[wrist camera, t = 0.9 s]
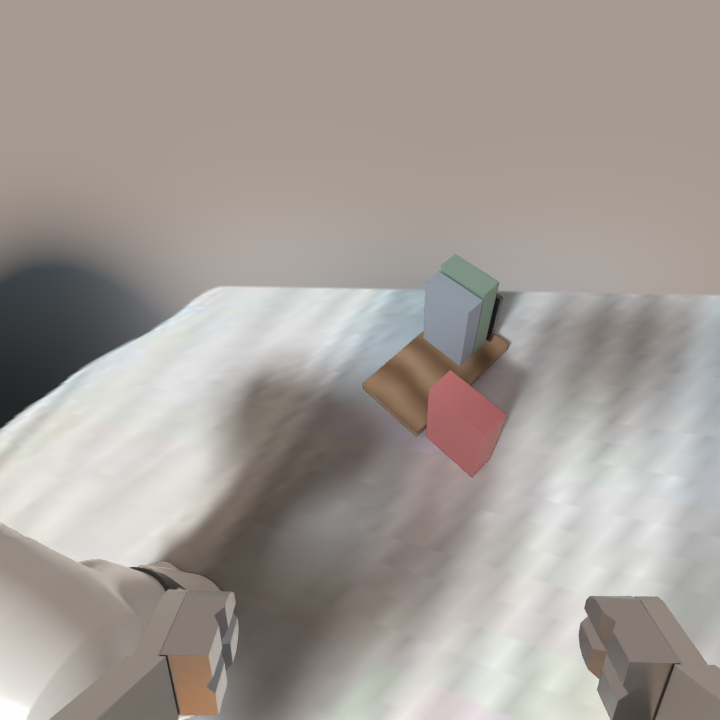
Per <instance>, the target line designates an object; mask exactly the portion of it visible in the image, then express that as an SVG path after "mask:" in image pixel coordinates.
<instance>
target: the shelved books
mask: <svg viewBox="0 0 720 720" xmlns="http://www.w3.org/2000/svg"><path fill="white" fill-rule="evenodd" d="M498 286H499V282H498V281H497V280H495V279H493V278H492V277H490V276H489V275H487V274H486V273H484V272H483V271H481V270H479V269H478V268H476V267H474V266H473V265H472V264H470V263H468V262H467V261H465V260H464V259H462V258H461V257H459V256H457V255H456V254H455V255H453V256H452V257H451V258H450V259H448V260H447V261H446V262H445V263H443V264H442V265H441V272H440V271H439V272H438V273H437V274H436V275H434V276H433V277H432V278H431V279H429V280H428V281H427V282H426V283H425V307H424V337H423V338H424V339H425V340H427V341H428V342H429V343H430V344H432V345H433V346H434V347H436V348H437V349H438V350H440V351H441V352H442V353H444V354H445V355H446V356H447V357H449V358H450V359H451V360H453V361H454V362H455V363H457V364H458V365H459V366H461V365H462V364H463V363H464V362H465V361H466V360H467V359H468V358H469V357H470V356H471V355H472V353H473V354H474V353H475V352H476V351H477V350H478V349H479V348H480V347H481V346H482V345H483V344H484V343H485V342H486V337H487V333H488V329H489V325H490V320H491V316H492V312H493V307H494V303H495V299H496V294H497V290H498Z"/></svg>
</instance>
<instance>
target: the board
mask: <svg viewBox="0 0 720 720" xmlns="http://www.w3.org/2000/svg"><path fill="white" fill-rule="evenodd" d="M423 337H424V331H423V332H422V333H421V334H419V335H418V336H417V337H416V338H415V339H414V340H412V341H411V342H410V343H409V344H408V345H407V346H406V347H404V348H403V349H402V350H401V351H400V352H399V353H397V354H396V355H395V356H394V357H393V358H392V359H390V360H389V361H388V362H387V363H386V364H385V365H384V366H382V367H381V368H380V369H379V370H378V371H377V372H375V373H374V374H373V375H372V376H371V377H370V378H368V379H367V380H366V381H365V382H364V383H363V384H362V386H363V389H364V390H365V391H366V392H367V393H369V394H370V395H371V396H372V397H373V398H374V399H375V400H376V401H377V402H379V403H380V404H381V405H382V406H383V407H384V408H385V409H386V410H387V411H389V412H390V413H391V414H392V415H393V416H394V417H395V418H396V419H397V420H399V421H400V422H401V423H402V424H403V425H404V426H405V427H406V428H407V429H409V430H410V431H411V432H412V433H413V434H414V435H415V436H416V437H417V436H418V435H419V434H420V433H421V432H422V431H423V430H424V429H425V428H426V427H427V412H428V396H429V389H430V388H431V387H432V386H433V385H435V384H436V383H437V382H438V381H439V380H440V379H441V378H442V377H443V376H444V375H445V374H446V373H448V372H449V371H450V370H451V371H452V372H453V373H455V374H456V375H457V376H458V377H460V378H461V379H462V380H464V381H465V382H466V383H467V384H469V385H471V384H472V383H473V382H474V381H475V380H476V379H477V378H478V377H479V376H480V375H481V374H482V373H483V372H485V371H486V370H487V369H488V368H489V367H490V366H491V365H492V364H493V363H494V362H495V361H496V360H497V359H498V358H499V357H500V356H501V355H502V354H503V353H504V352H505V351H506V350H508V347H509V344H508V343H507V342H505V341H504V340H502V339H501V338H500V337H498V336H497V335H495V334H494V336H493V340H492V341H491V342H489V341H488V340H486V342H485V343H484V344H483V345H482V346H481V347H480V348H479V349H478V350H477V351H476V352H475V353H474V354H473V353H472V355H471V356H470V357H469V358H468V359H467V360H466V361H465V362H464V363H463V364H462V365H461V366H459V365H458V364H457V363H455V362H454V361H453V360H451V359H450V358H449V357H447V356H446V355H445V354H444V353H442V352H441V351H440V350H438V349H437V348H436V347H434V346H433V345H432V344H430V343H429V342H428V341H427V340H425V339H424V338H423Z"/></svg>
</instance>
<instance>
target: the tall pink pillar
mask: <svg viewBox="0 0 720 720" xmlns="http://www.w3.org/2000/svg"><path fill="white" fill-rule="evenodd" d="M506 417H507V414H506V413H505V412H503V411H502V410H501V409H499V408H498V407H497V406H496V405H494V404H493V403H492V402H490V401H489V400H488V399H487V398H485V397H484V396H483V395H481V394H480V393H479V392H478V391H476V390H475V389H474V388H473V387H471V386H470V385H469V384H467V383H466V382H465V381H464V380H462V379H461V378H460V377H458V376H457V375H456V374H455V373H453V372H452V371H451V370H450V371H449V372H448V373H446V374H445V375H444V376H443V377H442V378H441V379H440V380H439V381H438V382H437V383H436V384H435V385H433V386H432V387H431V388H430V389H429V396H428V412H427V429H426V437H427V438H428V439H429V440H431V441H432V442H433V443H434V444H435V445H436V446H437V447H438V448H440V449H441V450H442V451H443V452H444V453H445V454H446V455H447V456H449V457H450V458H451V459H452V460H453V461H454V462H455V463H456V464H458V465H459V466H460V467H461V468H462V469H463V470H464V471H465V472H467V473H468V474H469V475H470V476H471V477H473V476H474V475H475V474H476V473H477V472H478V471H479V470H480V469H481V468H482V467H483V466H484V465H485V464H486V463H487V462H488V460H489V459H490V458H491V455H492V453H493V450H494V448H495V445H496V443H497V440H498V437H499V435H500V432H501V430H502V427H503V425H504V422H505V420H506Z"/></svg>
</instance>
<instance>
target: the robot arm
mask: <svg viewBox="0 0 720 720" xmlns="http://www.w3.org/2000/svg"><path fill="white" fill-rule="evenodd" d="M235 604H236V601H235V595H234V592H229V591H220V589H219V588H218V587H217V586H216V585H215V584H214V583H213V582H212V581H210V580H209V579H207V578H205V577H203V576H201V575H198V574H193V573H187V572H183V571H180V570H179V569H178V568H176V567H175V566H174V565H172V564H171V563H169V562H165V561H160V562H158V563H156V564H154V565H153V566H149V565H140V566H138V567H130V568H128V567H125V566H121V565H118V564H115V563H112V562H109V561H106V560H101V559H93V560H86V561H82V562H76V561H74V560H72V559H70V558H67V557H66V556H64V555H62V554H60V553H58V552H56V551H54V550H52V549H50V548H48V547H47V546H45V545H43V544H41V543H39V542H38V541H36V540H34V539H31V538H28V537H25V536H24V535H22V534H20V533H18V532H17V531H15V530H13V529H11V528H10V527H8V526H6V525H4V524H3V523H1V522H0V720H187V719H190V718H193V717H194V716H196V715H219V712H220V708H221V704H222V701H223V697H224V694H225V690H226V687H227V677H226V670H227V669H228V668H229V667H230V666H231V665H232V664H233V661H234V657H235V653H236V649H237V642H238V627H239V625H238V617H237V616H236V615H235V614H234V613H233V611H234V607H235ZM584 609H585V611H586V613H587V615H588V617H587V618H586V619H584V620H583V621H582V622H581V624H580V630H579V642H580V649H581V652H582V656H583V659H584V661H585V664H586V666H587V668H588V670H589V671H591V672H592V673H593V674H594V675H595V676H596V677H597V678H598V679H600V680H599V684H598V688H597V691H598V693H599V695H600V697H601V700H602V702H603V704H604V706H605V709H606V711H607V713H608V715H609V717H610V720H720V668H718V667H717V666H715V665H708V664H707V663H706V662H705V660H704V659H703V657H702V656H701V654H700V653H699V652H698V650H697V649H696V647H695V646H694V644H693V643H692V642H691V640H690V639H689V637H688V636H687V634H686V633H685V632H684V630H683V629H682V627H681V626H680V624H679V623H678V622H677V620H676V619H675V617H674V616H673V614H672V613H671V612H670V610H669V609H668V607H667V606H666V604H665V603H664V602H663V600H661V599H660V598H659V597H637V596H635V597H632V596H590V597H589V598H588V599H587V600H586V604H585V607H584Z"/></svg>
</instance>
